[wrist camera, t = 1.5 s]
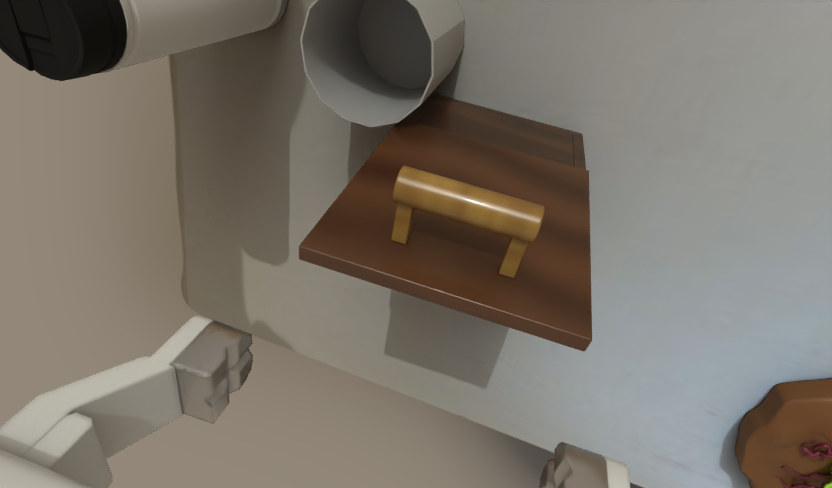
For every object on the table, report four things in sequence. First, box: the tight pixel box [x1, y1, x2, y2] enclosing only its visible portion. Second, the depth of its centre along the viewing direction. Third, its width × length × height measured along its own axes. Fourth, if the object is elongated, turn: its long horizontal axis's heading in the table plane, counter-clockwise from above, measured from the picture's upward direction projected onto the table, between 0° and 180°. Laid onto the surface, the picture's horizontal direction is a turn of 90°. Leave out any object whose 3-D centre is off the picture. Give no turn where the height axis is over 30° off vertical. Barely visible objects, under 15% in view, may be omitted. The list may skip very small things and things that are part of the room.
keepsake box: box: [404, 93, 586, 170], centre depth 38 cm, size 14×13×8 cm
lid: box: [299, 119, 592, 351], centre depth 24 cm, size 14×13×4 cm
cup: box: [300, 0, 465, 127], centre depth 32 cm, size 8×8×10 cm
